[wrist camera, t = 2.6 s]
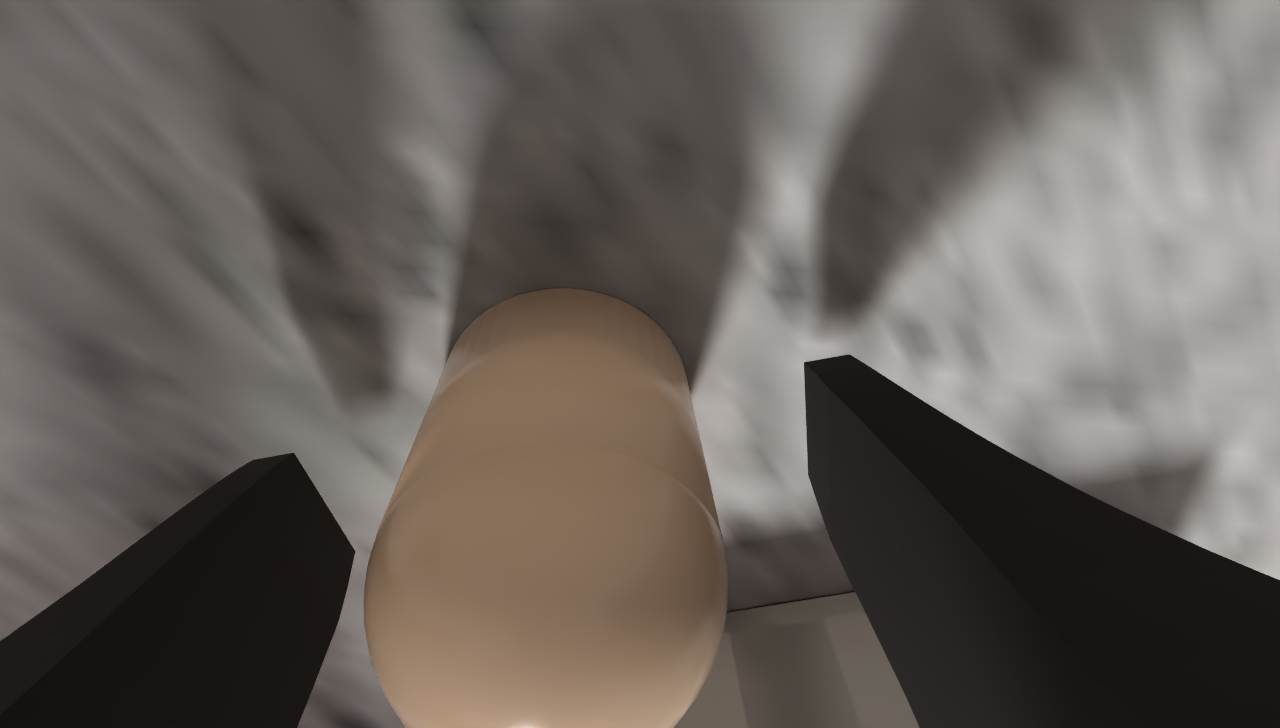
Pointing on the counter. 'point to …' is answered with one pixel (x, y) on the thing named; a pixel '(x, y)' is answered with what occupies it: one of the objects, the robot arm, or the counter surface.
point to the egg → (551, 530)
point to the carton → (800, 671)
